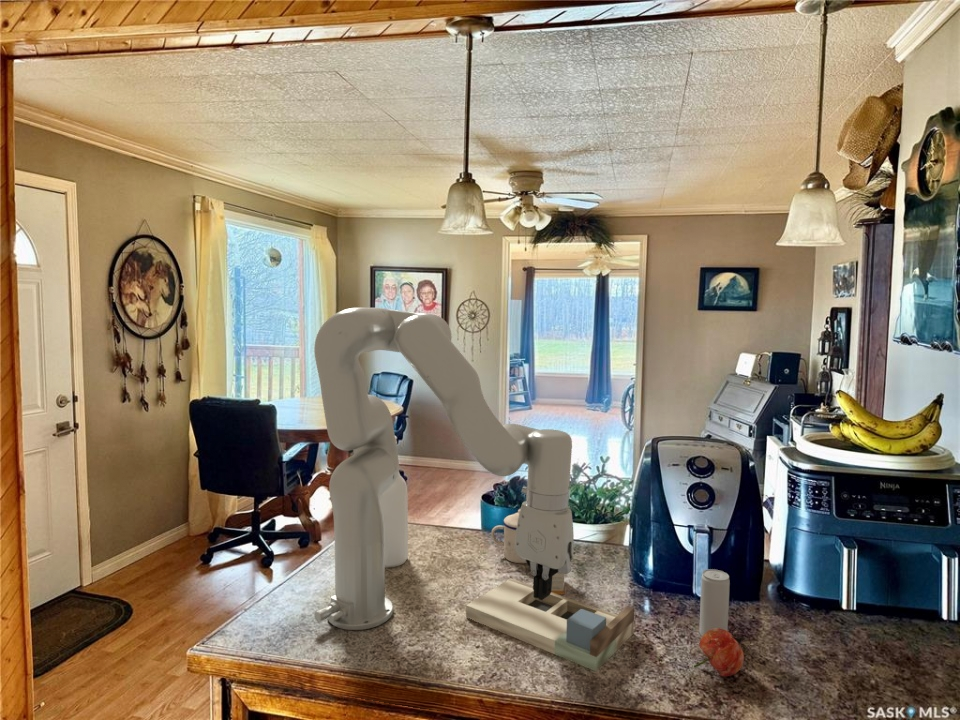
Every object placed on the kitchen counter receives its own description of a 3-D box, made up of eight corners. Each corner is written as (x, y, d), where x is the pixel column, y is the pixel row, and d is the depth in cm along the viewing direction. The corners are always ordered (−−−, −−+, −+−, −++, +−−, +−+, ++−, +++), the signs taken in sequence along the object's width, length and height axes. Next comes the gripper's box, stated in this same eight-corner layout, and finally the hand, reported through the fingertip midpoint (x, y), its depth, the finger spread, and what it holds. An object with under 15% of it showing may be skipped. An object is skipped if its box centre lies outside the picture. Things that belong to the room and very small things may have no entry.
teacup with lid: (541, 550, 151) (542, 504, 150) (539, 565, 142) (539, 517, 141) (494, 546, 153) (494, 501, 152) (488, 562, 144) (488, 514, 143)
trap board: (596, 671, 101) (596, 642, 101) (466, 617, 118) (466, 592, 118) (633, 633, 113) (634, 607, 113) (510, 589, 130) (510, 566, 130)
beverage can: (726, 632, 113) (729, 571, 112) (727, 646, 109) (730, 582, 108) (698, 628, 115) (701, 567, 114) (699, 641, 110) (701, 578, 109)
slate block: (592, 652, 102) (592, 629, 102) (566, 641, 106) (566, 619, 105) (605, 639, 106) (606, 617, 106) (580, 629, 109) (581, 608, 109)
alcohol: (377, 551, 149) (375, 431, 147) (411, 554, 148) (411, 433, 145) (365, 567, 141) (364, 439, 138) (402, 569, 139) (401, 441, 137)
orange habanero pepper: (705, 696, 99) (760, 670, 95) (678, 653, 100) (731, 627, 97) (707, 675, 105) (759, 651, 102) (682, 636, 107) (732, 611, 104)
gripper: (501, 494, 111) (496, 590, 113) (573, 514, 102) (567, 618, 103) (524, 485, 117) (519, 576, 118) (594, 504, 108) (588, 602, 109)
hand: (541, 596), depth 111 cm, fingers closed
